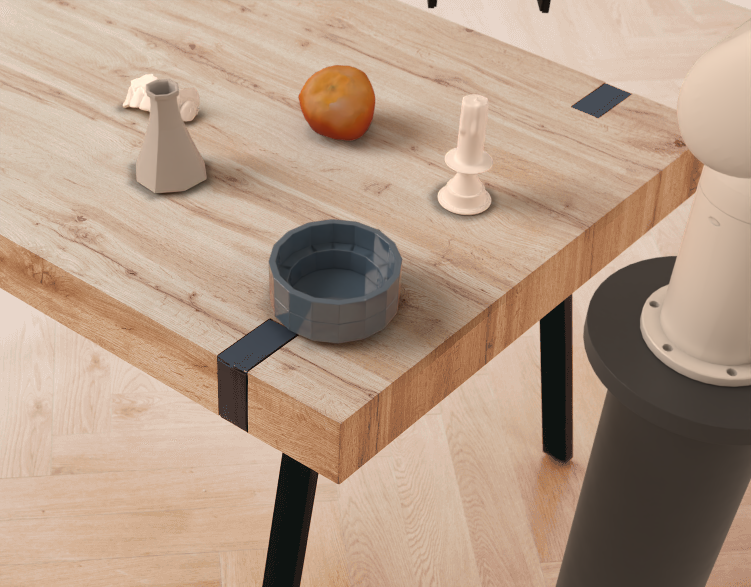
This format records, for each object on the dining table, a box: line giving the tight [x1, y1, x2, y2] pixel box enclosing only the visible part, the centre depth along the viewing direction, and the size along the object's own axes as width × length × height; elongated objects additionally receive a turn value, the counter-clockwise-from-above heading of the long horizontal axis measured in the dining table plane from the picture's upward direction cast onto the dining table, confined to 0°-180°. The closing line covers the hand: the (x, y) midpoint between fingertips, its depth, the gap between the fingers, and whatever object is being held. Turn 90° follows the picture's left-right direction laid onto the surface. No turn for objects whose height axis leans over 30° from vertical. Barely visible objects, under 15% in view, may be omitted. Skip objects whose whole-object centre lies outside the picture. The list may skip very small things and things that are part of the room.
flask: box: [135, 78, 208, 194], centre depth 105 cm, size 7×7×10 cm
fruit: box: [297, 64, 376, 142], centre depth 114 cm, size 8×8×8 cm
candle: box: [437, 93, 494, 216], centre depth 103 cm, size 5×5×12 cm
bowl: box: [268, 218, 403, 344], centre depth 93 cm, size 11×11×5 cm
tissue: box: [122, 73, 201, 122], centre depth 116 cm, size 6×8×4 cm
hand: (486, 3), depth 93 cm, fingers open, 9 cm apart
